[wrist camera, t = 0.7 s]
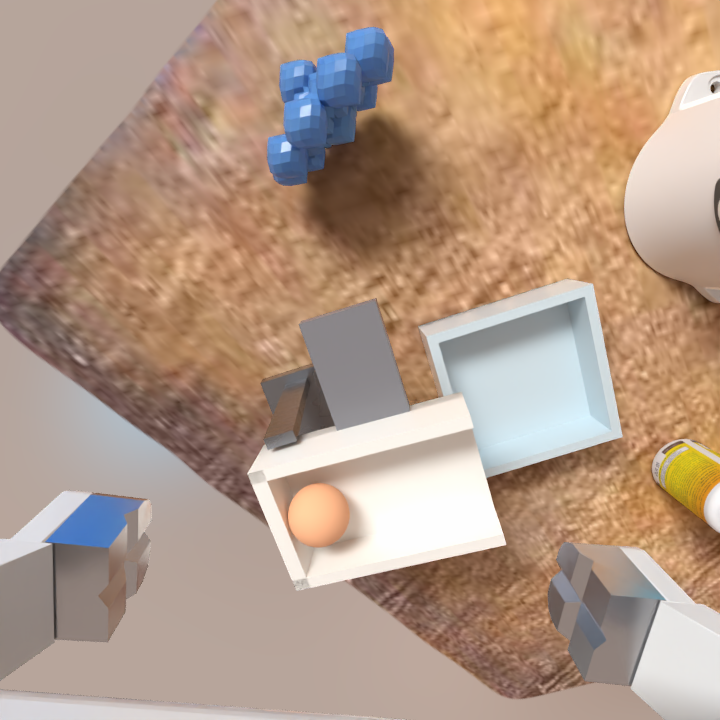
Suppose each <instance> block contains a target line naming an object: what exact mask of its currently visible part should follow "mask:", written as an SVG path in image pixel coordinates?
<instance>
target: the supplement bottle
mask: <svg viewBox="0 0 720 720" xmlns="http://www.w3.org/2000/svg"><path fill="white" fill-rule="evenodd" d="M652 474H653V477H654V479H655V481H656V483H657V484H658V485H659V486H660V487H661V488H662V489H664V490H665V491H666V492H667V493H669V494H670V495H671V496H672V497H674V498H675V499H676V500H677V501H679V502H680V503H681V504H682V505H684V506H685V507H686V508H688V509H689V510H690V511H691V512H693V513H694V514H695V515H696V516H698V517H699V518H700V519H701V520H703V521H704V522H705V523H706V524H708V525H709V526H710V527H711V528H713V529H714V530H715V531H717V532H719V533H720V454H718V453H717V452H715V451H713V450H711V449H710V448H708V447H706V446H704V445H703V444H701V443H699V442H697V441H694V440H690V439H679V440H675V441H672V442H670V443H668V444H666V445H665V446H664V447H662V448H661V449H660V450H659V451H658V453H657V454H656V456H655V458H654V460H653V463H652Z"/></svg>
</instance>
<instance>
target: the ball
mask: <svg viewBox="0 0 720 720" xmlns="http://www.w3.org/2000/svg"><path fill="white" fill-rule="evenodd" d="M349 519H350V511H349V506H348V502H347V500H346V498H345V497H344V495H343V494H342V493H341V492H340V491H339V490H338V489H337V488H335V487H334V486H331V485H329V484H325V483H314V484H310V485H308V486H306V487H304V488H302V489H301V490H300V491H299V492H298V493H297V494H296V495H295V496H294V498H293V499H292V501H291V503H290V506H289V511H288V522H289V526H290V529H291V531H292V533H293V534H294V536H295V537H296V538H297V539H298V540H299V541H300V542H302V543H303V544H305V545H307V546H311V547H316V548H317V547H326V546H329V545H331V544H333V543H335V542H336V541H337V540H339V539H340V538H341V537H342V535H343V534H344V533H345V531H346V529H347V526H348V524H349Z"/></svg>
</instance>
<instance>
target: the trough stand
mask: <svg viewBox="0 0 720 720" xmlns="http://www.w3.org/2000/svg"><path fill="white" fill-rule="evenodd" d="M261 385H262V388H263V391H264V393H265V396H266V398H267V401H268V403H269V406H270V408H271V411H272V414H273V417H272V419H271V422H270V424H269V427H268V429H267V432H266V434H265V437H264V442H265V444H266V447H267V449H268V450H270V449H273V448H276V447H279V446H283V445H286V444H289V443H292V442H295V441H297V439H298V436H299V435H303V434H306V433H310V432H314V431H317V430H321V429H325V428H329V427H332V426H335V424H334V421H333V419H332V416H331V413H330V410H329V407H328V405H327V402H326V399H325V396H324V393H323V391H322V388H321V385H320V382H319V379H318V377H317V374H316V371H315V368H314V365H313V363H312V364H309V365H306V366H303V367H300V368H297V369H293V370H290V371H287V372H284V373H281V374H278V375H275V376H272V377H268V378H265V379H263V380H262V382H261Z"/></svg>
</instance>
